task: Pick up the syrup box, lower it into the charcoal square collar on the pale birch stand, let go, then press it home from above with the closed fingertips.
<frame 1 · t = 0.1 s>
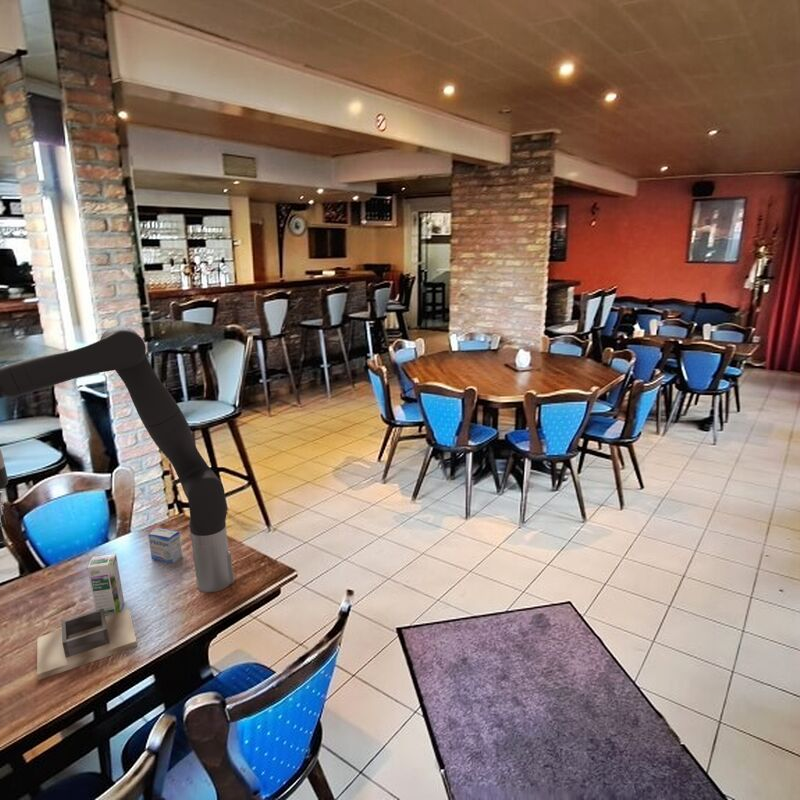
socket stand: (87, 644, 134), on the table
medicine box: (167, 558, 170), on the table
syrup box: (110, 609, 147), on the table
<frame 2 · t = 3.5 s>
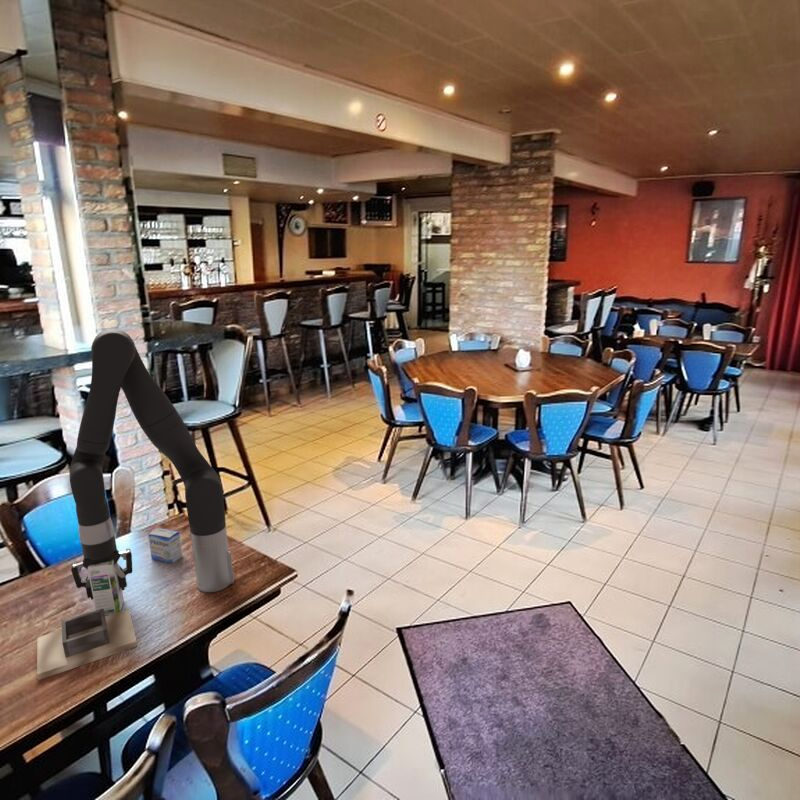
hand: (107, 593, 145), 5 cm above the table, fingers closed on syrup box, 6 cm apart
syrup box: (110, 609, 147), on the table, touching gripper
everything else where it was.
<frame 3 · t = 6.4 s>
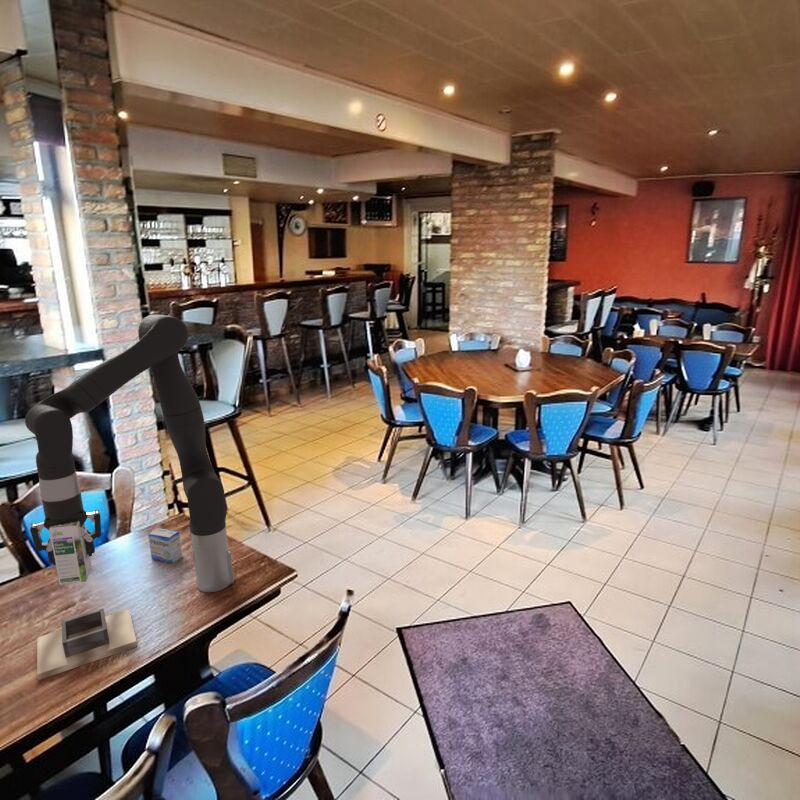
hand: (72, 558, 129), 22 cm above the table, fingers closed on syrup box, 6 cm apart
syrup box: (76, 577, 131), point 17 cm above the table, touching gripper
everything else where it was.
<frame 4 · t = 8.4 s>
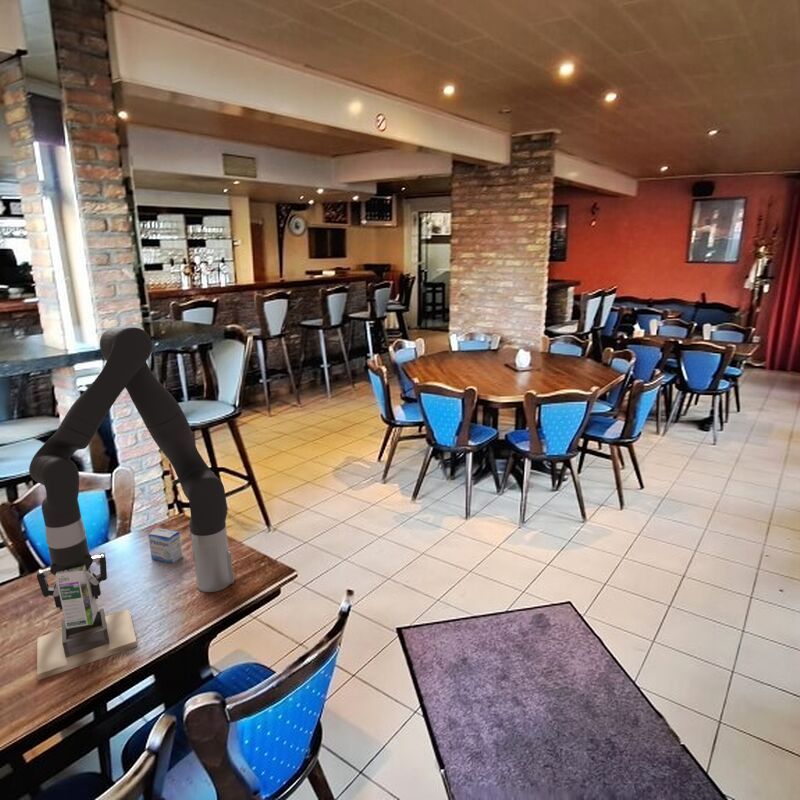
hand: (79, 602, 131), 12 cm above the table, fingers closed on syrup box, 6 cm apart
syrup box: (82, 620, 132), point 7 cm above the table, touching gripper
everything else where it was.
when the fingers open (8 cm above the table, at t = 9.7 s): syrup box drops 2 cm, resting on socket stand.
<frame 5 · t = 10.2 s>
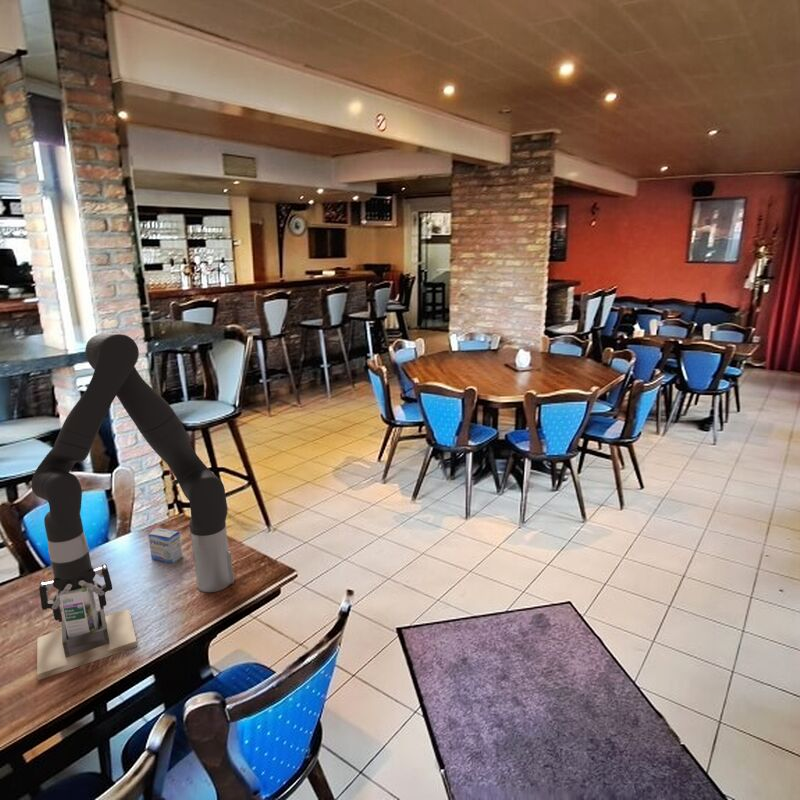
hand: (81, 613, 132), 9 cm above the table, fingers open, 8 cm apart
syrup box: (85, 640, 134), point 1 cm above the table, touching socket stand
everything else where it was.
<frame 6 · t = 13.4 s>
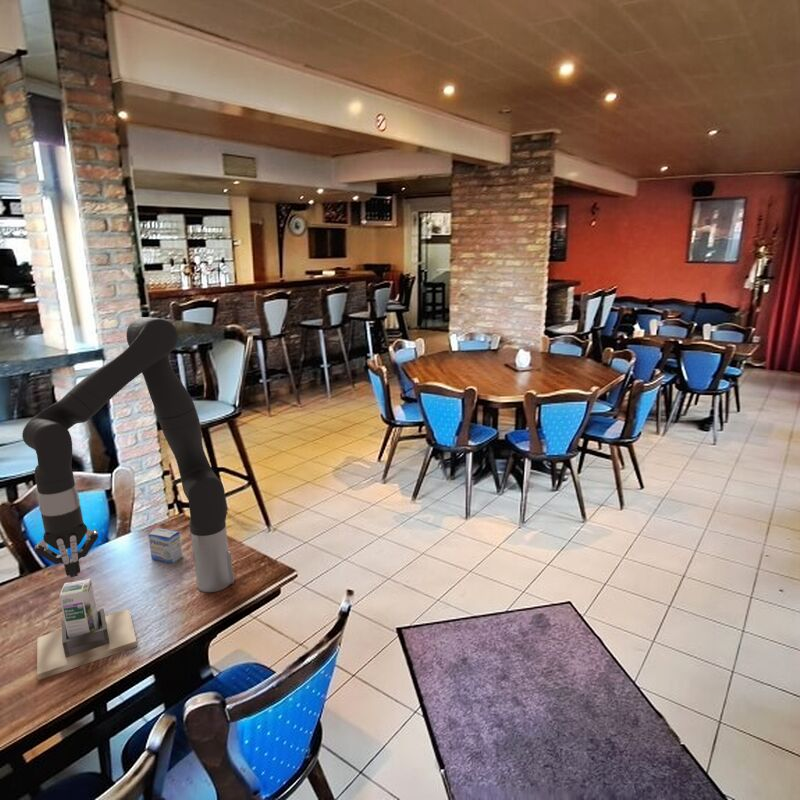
hand: (73, 575, 129), 19 cm above the table, fingers closed
nothing on the table moved.
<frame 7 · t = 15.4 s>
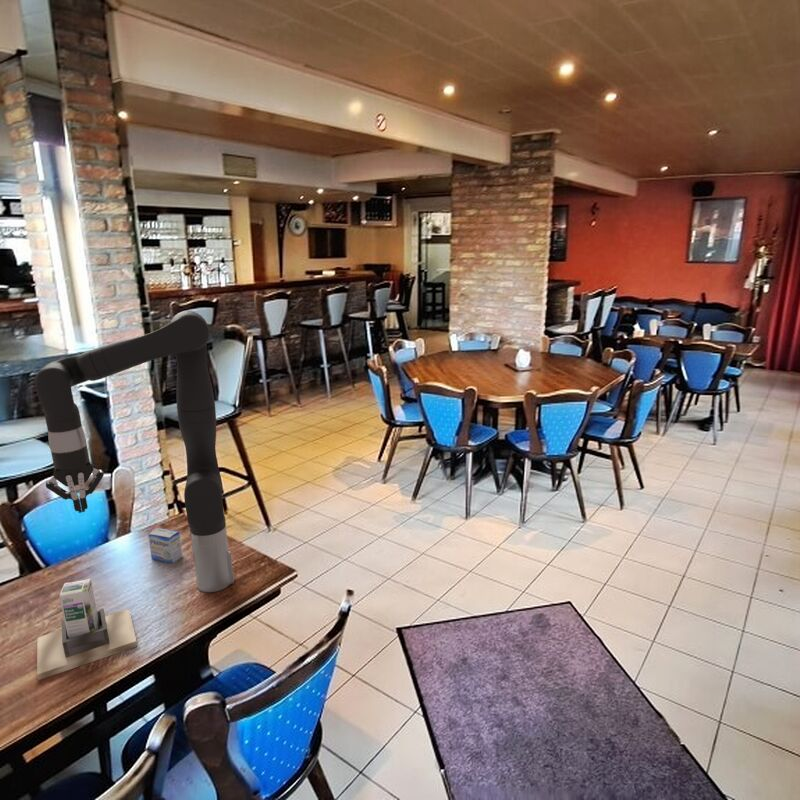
hand: (81, 511, 139), 28 cm above the table, fingers closed
nothing on the table moved.
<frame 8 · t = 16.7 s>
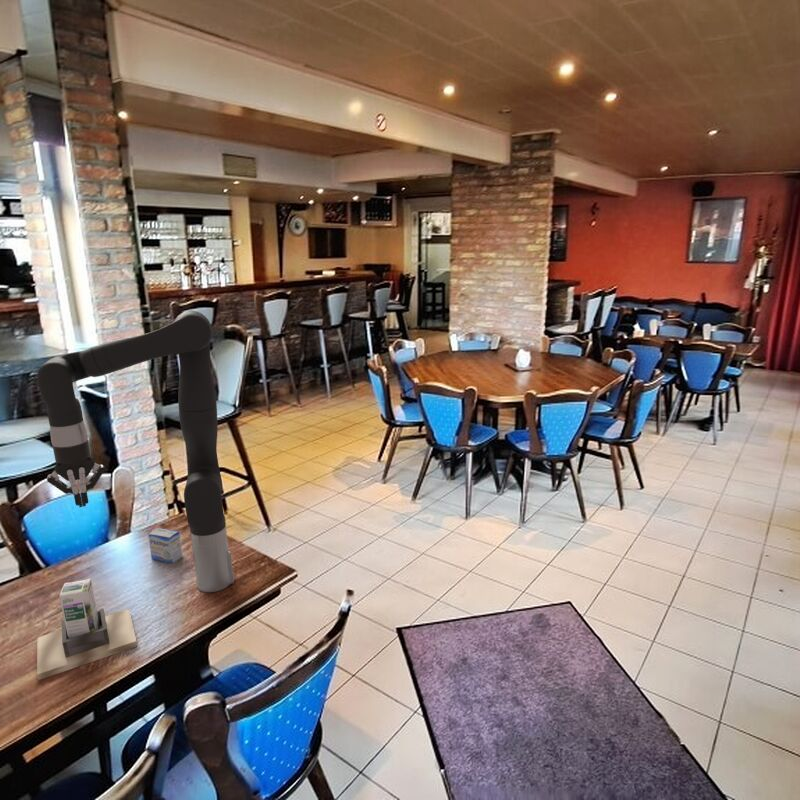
hand: (82, 505, 140), 29 cm above the table, fingers closed
nothing on the table moved.
at the end: syrup box 0.2 cm off-centre on the socket stand, point 1.3 cm above the socket stand's base; syrup box tilted 0°; the gripper is holding nothing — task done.
